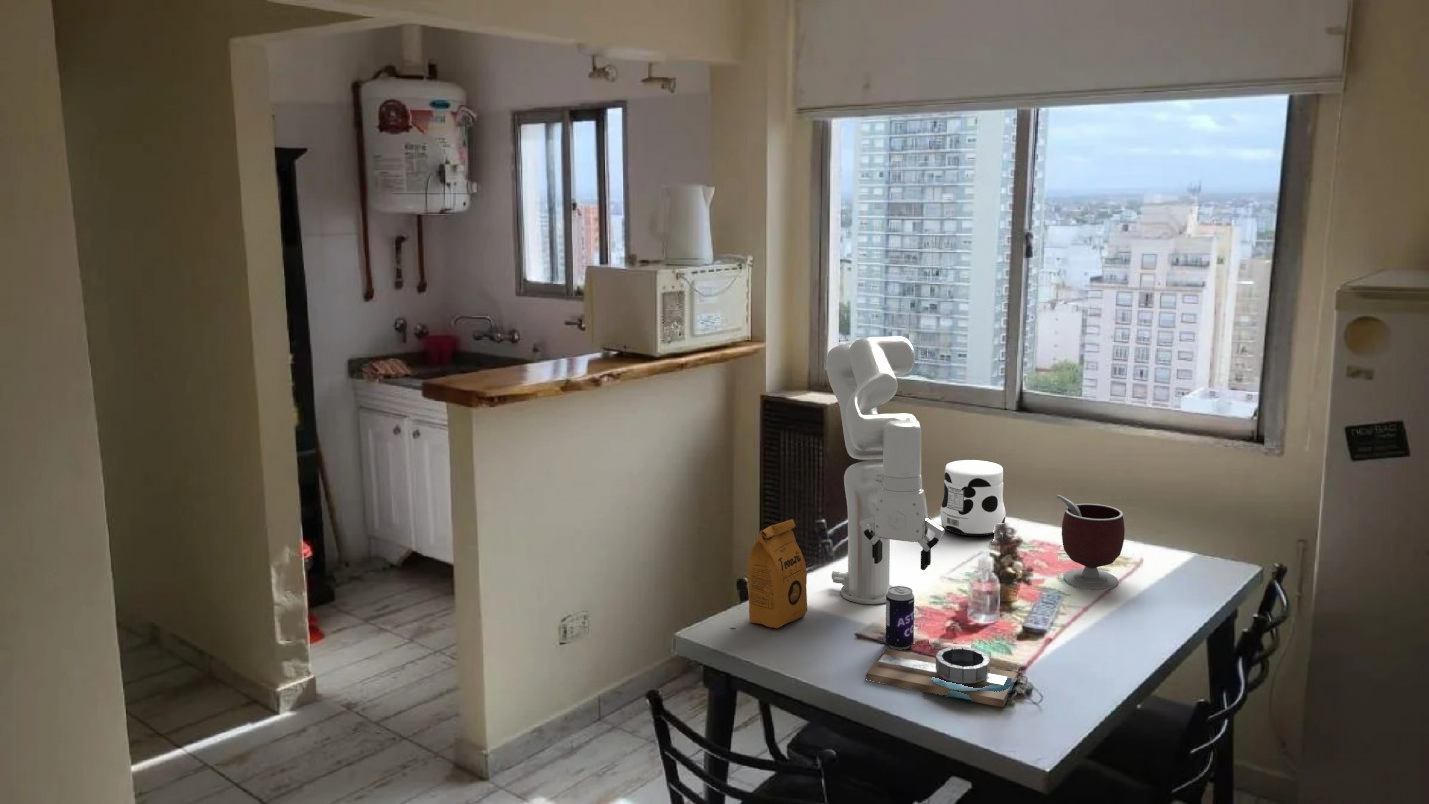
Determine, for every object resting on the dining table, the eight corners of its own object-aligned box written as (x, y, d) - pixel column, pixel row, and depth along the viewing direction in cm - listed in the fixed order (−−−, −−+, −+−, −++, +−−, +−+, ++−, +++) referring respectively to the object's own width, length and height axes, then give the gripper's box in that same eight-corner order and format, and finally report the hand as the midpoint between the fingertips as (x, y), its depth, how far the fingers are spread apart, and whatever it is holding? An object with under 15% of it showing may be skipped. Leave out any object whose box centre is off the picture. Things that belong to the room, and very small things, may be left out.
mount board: (865, 680, 203) (865, 673, 202) (885, 656, 213) (885, 648, 213) (1003, 707, 191) (1003, 699, 190) (1017, 680, 201) (1017, 672, 201)
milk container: (1004, 522, 296) (1006, 460, 293) (1005, 542, 280) (1008, 476, 276) (940, 519, 300) (942, 458, 297) (939, 538, 284) (940, 473, 280)
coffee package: (814, 617, 233) (814, 522, 229) (776, 634, 224) (775, 535, 220) (781, 606, 240) (780, 512, 236) (742, 622, 231) (740, 525, 227)
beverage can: (896, 653, 214) (897, 597, 212) (880, 643, 219) (880, 588, 217) (919, 647, 217) (920, 592, 214) (902, 637, 221) (902, 583, 219)
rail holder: (872, 671, 203) (873, 652, 202) (888, 652, 211) (888, 633, 210) (999, 695, 192) (1000, 675, 191) (1010, 674, 200) (1011, 655, 200)
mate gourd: (1127, 576, 253) (1131, 496, 249) (1114, 595, 242) (1118, 511, 238) (1061, 565, 261) (1064, 487, 258) (1045, 583, 250) (1049, 502, 246)
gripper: (854, 483, 212) (854, 565, 215) (939, 491, 204) (938, 576, 207) (866, 474, 218) (866, 554, 221) (949, 482, 210) (948, 565, 213)
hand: (901, 565), depth 214 cm, fingers open, 9 cm apart
